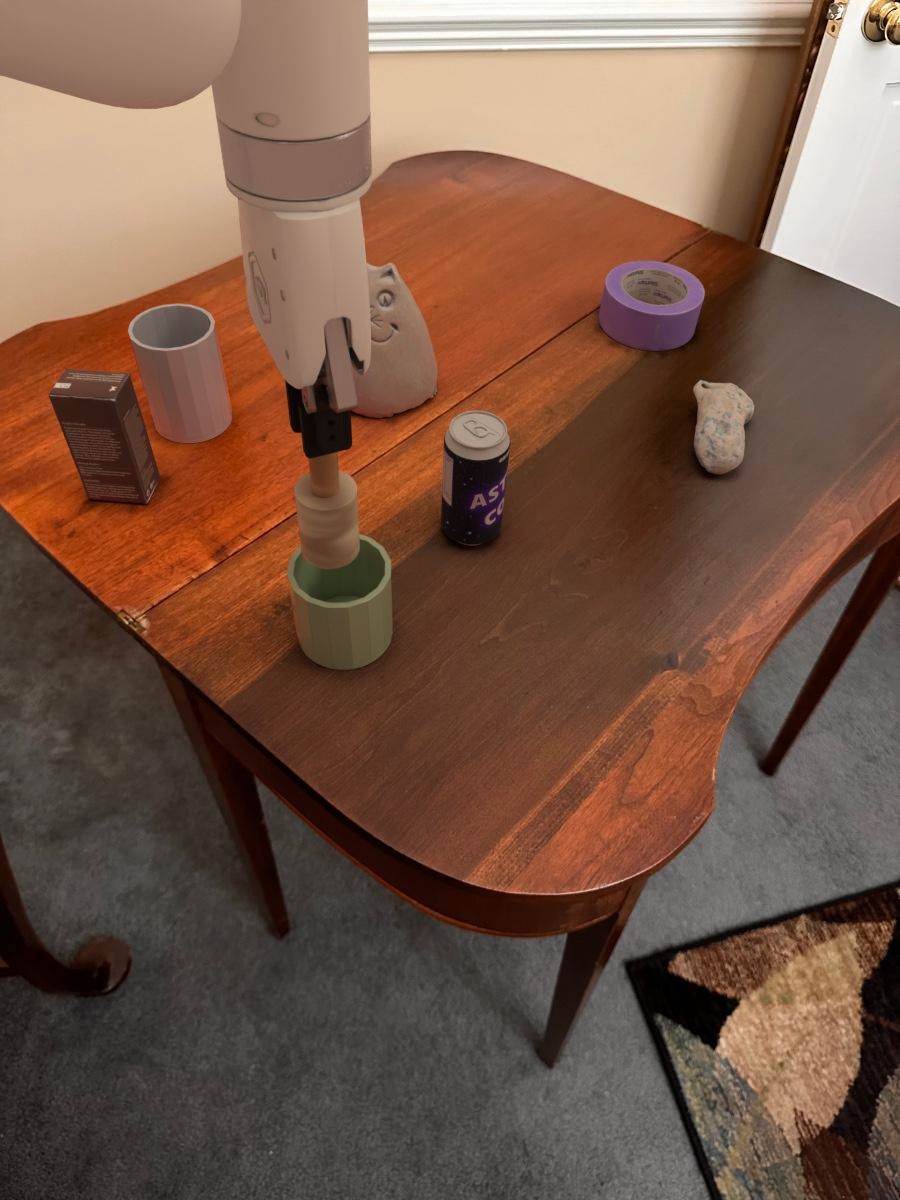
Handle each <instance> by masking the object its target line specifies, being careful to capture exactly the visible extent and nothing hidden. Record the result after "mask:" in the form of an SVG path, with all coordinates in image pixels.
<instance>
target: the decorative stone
mask: <svg viewBox="0 0 900 1200" xmlns="http://www.w3.org/2000/svg"><path fill="white" fill-rule="evenodd" d="M692 392H693V394H694V397H695V398H696V402H697V414H696V415H697V417H696V418H697V419H696V424H695V432H694V439H693V448H694V452H695V453H694V454H695V456H696V458H697V460H698V463H699V464H700V465H701V467H702V468H704V469H705V470H706V471H707V472H708V473H711V474H713V475H717V476H718V475H723V474H727V473H729V472H731V471H732V470H735V469H736V468H738V467H739V466H740V465H741V463H742V462H743V460H744V456H745V450H746V449H745V448H746V434H745V433H746V431H745V424H747V423H748V422H749V421H750V420H751V419H752V417H753V415H754V412H755V404H754V402H753V399H751V398H750V397H749V395H748V394H747V393H746V392H745V391H744V389H742V388H739V387H738V385H736V384H734V383H732V382H709V381H706V380H699V381H698V382H696V383H695V385H694V386H693V388H692Z"/></svg>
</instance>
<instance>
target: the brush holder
mask: <svg viewBox="0 0 900 1200" xmlns="http://www.w3.org/2000/svg"><path fill="white" fill-rule="evenodd" d="M359 541H360V550H359V553H358V555H357V557H356V558H355V559H354V560H353V561H352V562H351V563H349V564H348V565H346V566H343V567H340V568H336V569H323V568H319V567H316V566H313V565H311V564H310V563H309V562H307V561H306V560H305V558H304V557H303V555H302V551H301V545H299V546H298V547H297V548H296V550H295V551H294V553H292V555H291V557H290V558H289V560H288V565H287V573H286V577H287V578H286V579H287V584H288V590H289V597H290V603H291V609H292V614H293V615H292V616H293V620H294V621H293V622H294V626H295V633H296V637H297V641H298V643H299V647H300V648H301V650H302V652H303V654H305V656H306V657H307V658H308V659H309V660H311V661H312V662H313V663H316V664H317V665H319V666H322V667H324V668H327V669H331V670H339V671H346V670H347V671H348V670H356V669H360V668H363V667H365V666H368V665H370V664H371V663H373V662H375V661H377V660H378V659H380V658H381V656H383V654H384V653H385V652H386V651H387V650H388V648H389V646H390V644H391V642H392V639H393V636H394V635H393V633H394V612H393V609H394V608H393V576H392V575H393V574H392V573H393V571H392V559H391V558H390V556H389V554H388V553H387V550H386V549H385V547H384V546H383V545H382V544H380V543H379V542H377V541H376V540H375V539H373V538H372V537H370V536H367V535H364V534H361V533H359Z"/></svg>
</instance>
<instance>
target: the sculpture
mask: <svg viewBox="0 0 900 1200" xmlns="http://www.w3.org/2000/svg"><path fill="white" fill-rule="evenodd" d="M367 272H368V285H369V299H370V316H371V360H370V366H369V368H368V370H367V371H366V373H365V374H364V375H360V374H359V373H358V372H357V371H356V370H355V369H354V367H353V366H352V371H353V377H354V383H355V389H356V395H357V401H358V408H357V409H352V410H351V412H353V413H355V414H359V415H361V416H365V417H367V418H375V419H376V418H377V419H383V418H392V417H393V416H394V414H400V413H403V412H406V411H408V410H410V409H414V408H416V407H419V406H421V405H422V404H423V403H424V402H426V401H427V400H428V399H432V398H434V395H435V396H436V395H437V393H438V385H437V384H438V378H439V377H438V376H439V375H438V373H439V369H438V362H437V359H436V354H435V351H434V346H433V343H432V339H431V336H430V332H429V329H428V326H427V323H426V321H425V318H424V316H423V313H422V312H421V310H420V308H419V306H418V304H417V301H416V300H415V298H414V296H413V294H412V292H411V290H410V289H409V287H408V286H407V284H406V282H404V279H403V278H402V277H401V275H400V273H399V271H398V269H397V266H396V265H395V264H394V263H393V262H388V263H386V264H384V265H382V266H377V265H376V266H375V265H372V264H370V263H368V262H367ZM351 365H352V364H351Z"/></svg>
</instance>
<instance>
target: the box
mask: <svg viewBox="0 0 900 1200" xmlns="http://www.w3.org/2000/svg"><path fill="white" fill-rule="evenodd" d="M47 396H48V399H49V402H50V403H51V406H52V409H53V411H54V413H55V416H56V418H57V421H58V424H59V427H60V429H61V432H62V434H63V437H64V439H65V442H66V445H67V447H68V449H69V453H70V455H71V458H72V460H73V462H74V465H75V468H76V471H77V473H78V475H79V478H80V481H81V484H82V487H83V489H84V492H85V495H86V496H87V499H88V500H97V501H109V502H121V503H133V504H145V505H148V503H149V502H150V501H151V498H152V496H153V494H154V492H155V489H156V487H157V485H158V483H159V480H160V478H161V474H160V472H159V468H158V465H157V461H156V458H155V457H156V456H155V454H154V451H153V448H152V443H151V441H150V440H151V439H150V437H149V433H148V431H147V427H146V424H145V420H144V416H143V414H142V411H141V407H140V404H139V400H138V396H137V394H136V390H135V386H134V383H133V381H132V376H131V373H130V372H115V371H113V372H112V371H99V370H87V369H73V368H66V369H65V370H64V371H63V373H62V374H61V376H60V377H59V378H58V379H57V381H56V383H55V384H54V386H53V387H52V389H50V391H49V392H48V394H47Z"/></svg>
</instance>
